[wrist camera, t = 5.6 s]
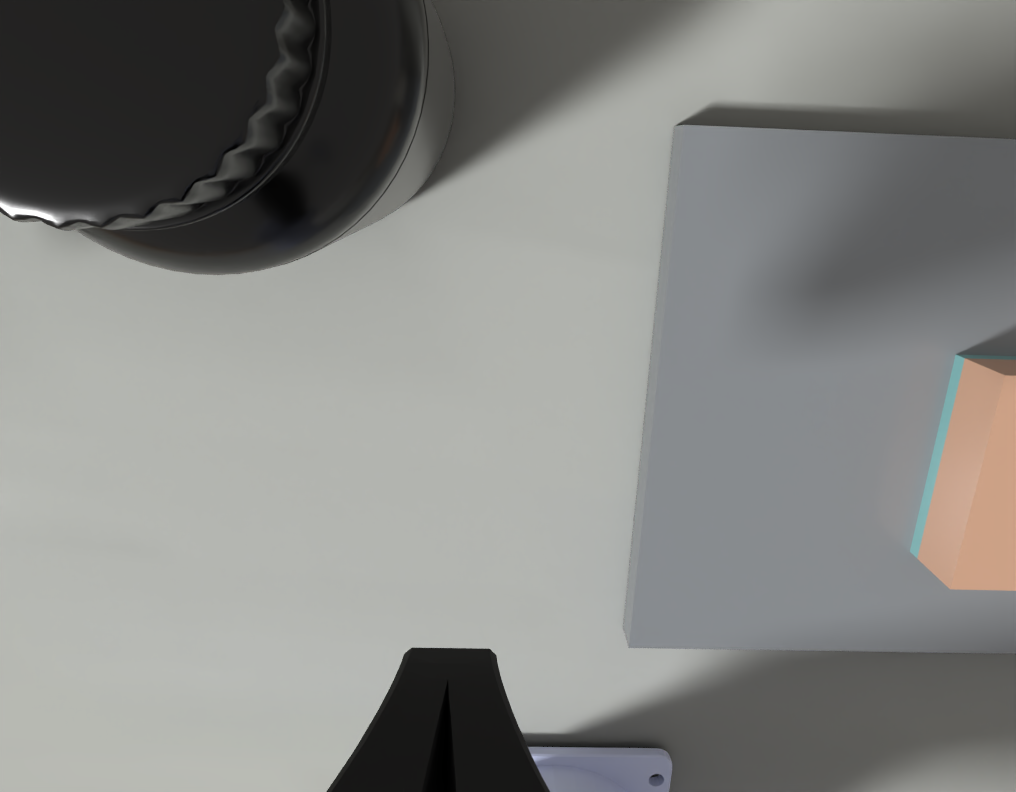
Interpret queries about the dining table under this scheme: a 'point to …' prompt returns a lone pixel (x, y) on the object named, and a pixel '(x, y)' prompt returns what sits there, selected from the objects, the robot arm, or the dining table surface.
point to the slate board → (814, 387)
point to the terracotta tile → (973, 480)
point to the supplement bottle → (219, 122)
